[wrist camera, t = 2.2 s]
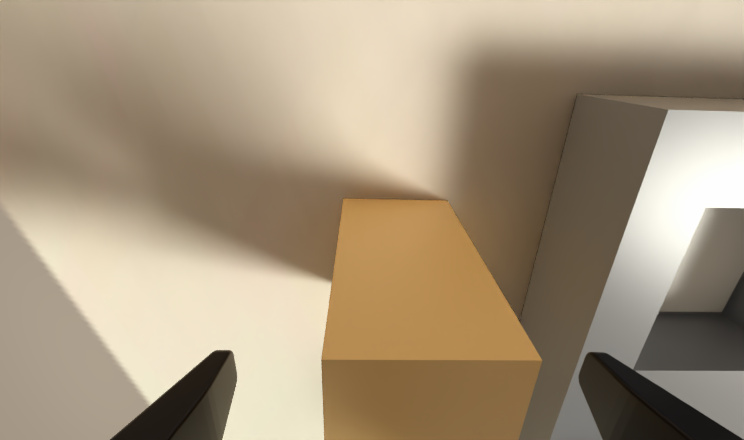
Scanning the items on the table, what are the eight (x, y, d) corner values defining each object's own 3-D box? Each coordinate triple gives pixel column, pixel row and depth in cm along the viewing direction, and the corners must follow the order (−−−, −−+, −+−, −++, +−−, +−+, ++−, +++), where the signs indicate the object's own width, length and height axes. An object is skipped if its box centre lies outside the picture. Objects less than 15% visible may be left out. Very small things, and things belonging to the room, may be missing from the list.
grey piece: (642, 482, 22) (698, 568, 18) (478, 483, 21) (502, 571, 18) (856, 102, 13) (1057, 120, 9) (577, 93, 12) (668, 109, 9)
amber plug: (436, 286, 15) (502, 491, 8) (343, 285, 15) (326, 493, 8) (447, 200, 14) (541, 360, 6) (343, 198, 14) (321, 359, 6)
